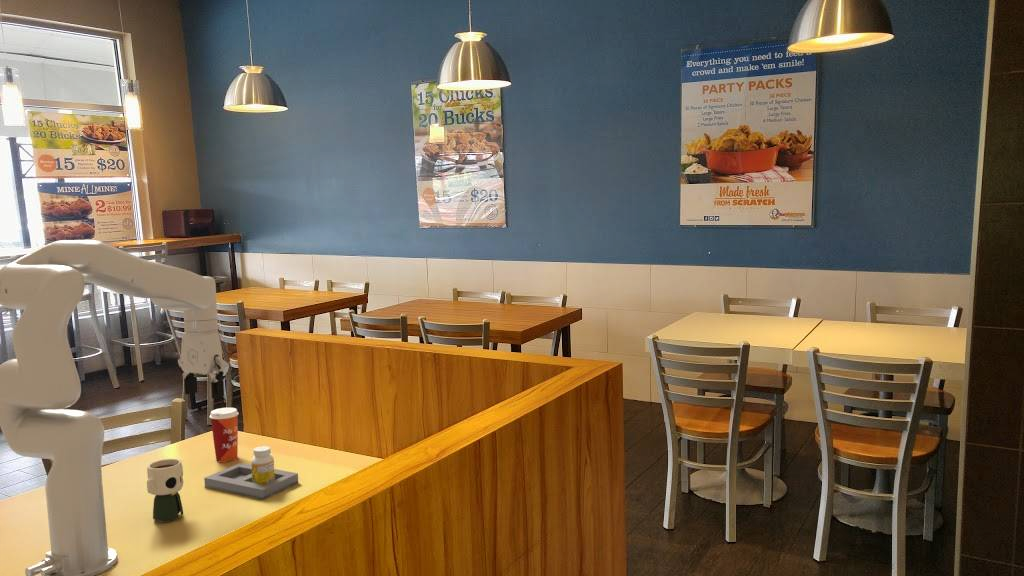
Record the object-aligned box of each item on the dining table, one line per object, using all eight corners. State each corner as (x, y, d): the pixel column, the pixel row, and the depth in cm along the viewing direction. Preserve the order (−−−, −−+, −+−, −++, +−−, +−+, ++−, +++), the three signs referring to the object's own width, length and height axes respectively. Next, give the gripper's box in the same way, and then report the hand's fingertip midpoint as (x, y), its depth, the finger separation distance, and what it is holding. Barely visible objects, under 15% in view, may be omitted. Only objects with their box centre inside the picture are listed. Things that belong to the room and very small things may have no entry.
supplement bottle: (274, 488, 181) (272, 450, 180) (252, 490, 180) (249, 453, 179) (275, 480, 186) (273, 444, 185) (253, 483, 185) (251, 446, 184)
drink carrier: (263, 499, 175) (262, 489, 175) (204, 487, 184) (204, 477, 184) (298, 482, 186) (297, 473, 186) (241, 471, 195) (240, 462, 195)
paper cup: (231, 464, 201) (228, 414, 200) (206, 462, 203) (203, 413, 201) (247, 454, 209) (244, 407, 207) (223, 453, 210) (220, 406, 209)
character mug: (164, 530, 160) (160, 473, 158) (137, 527, 161) (133, 470, 160) (197, 510, 170) (194, 456, 169) (171, 507, 172) (168, 454, 170)
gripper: (164, 326, 179) (168, 395, 180) (212, 330, 171) (215, 402, 172) (190, 323, 185) (194, 388, 187) (238, 326, 177) (241, 395, 179)
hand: (204, 395), depth 179 cm, fingers open, 9 cm apart
